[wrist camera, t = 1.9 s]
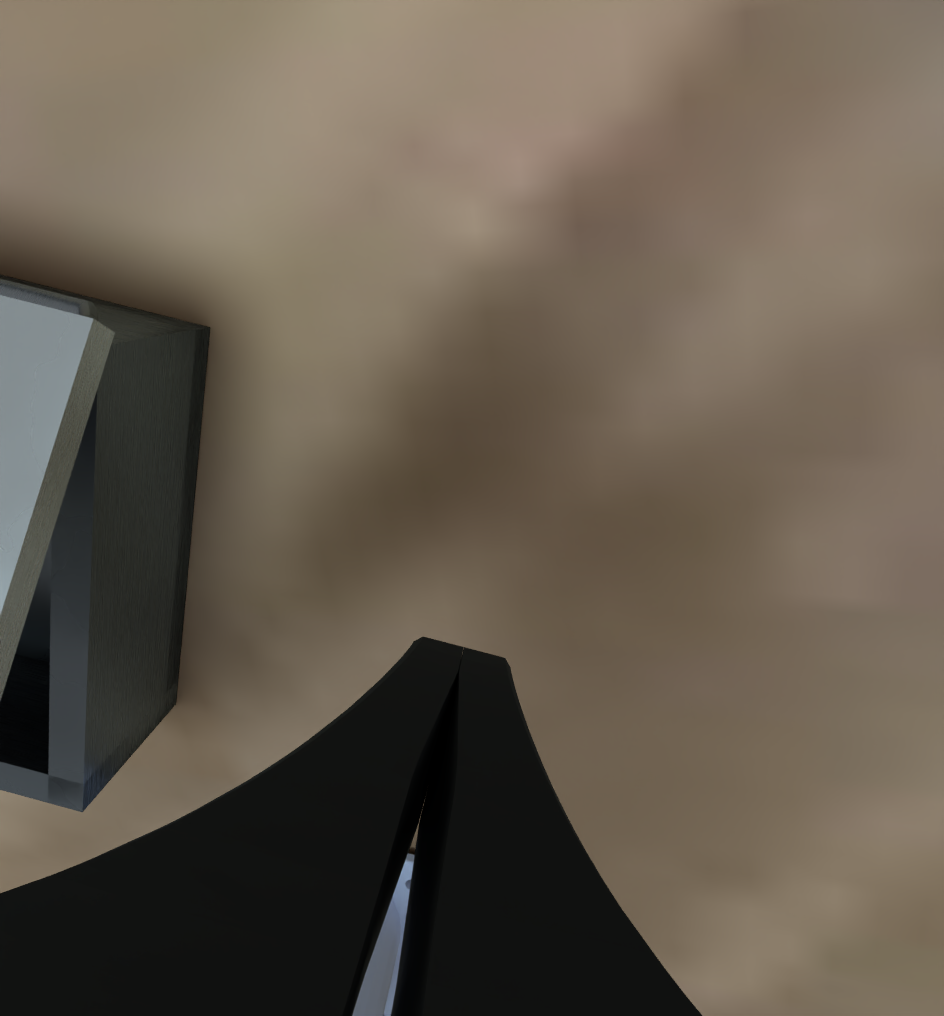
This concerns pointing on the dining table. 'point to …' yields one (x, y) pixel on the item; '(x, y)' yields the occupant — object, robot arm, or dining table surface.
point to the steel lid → (39, 432)
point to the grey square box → (111, 570)
